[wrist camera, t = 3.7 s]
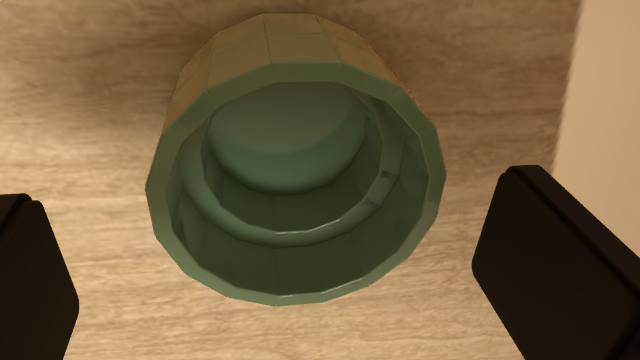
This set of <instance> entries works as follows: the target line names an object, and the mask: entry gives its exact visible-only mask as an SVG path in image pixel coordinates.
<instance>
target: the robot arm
mask: <svg viewBox="0 0 640 360" xmlns="http://www.w3.org/2000/svg"><path fill="white" fill-rule="evenodd" d="M472 272H473V275H474V277H475V279H476V280H477V282H478V284H479V285H480V287H481V288H482V290H483V292H484V293H485V295H486V297H487V298H488V300H489V302H490V303H491V305H492V306H493V308H494V310H495V311H496V313H497V315H498V316H499V318H500V320H501V321H502V323H503V324H504V326H505V328H506V329H507V331H508V333H509V334H510V336H511V338H512V339H513V341H514V342H515V344H516V346H517V347H518V349H519V351H520V352H521V354H522V355H523V357H524V359H525V360H640V258H639V257H638V256H637V255H636V254H635V253H634V252H633V251H631V250H630V249H629V248H628V247H627V246H626V245H625V244H624V243H623V242H622V241H621V240H620V239H619V238H617V237H616V236H615V235H614V234H613V233H612V232H611V231H610V230H609V229H608V228H607V227H605V225H603V224H602V223H601V222H600V221H599V220H598V219H597V218H596V217H595V216H594V215H593V214H592V213H591V212H589V211H588V210H587V209H586V208H585V207H584V206H583V205H582V204H581V203H580V202H579V201H578V200H577V199H575V198H574V197H573V196H572V195H571V194H570V193H569V192H568V191H567V190H565V188H564V187H562V186H561V185H560V184H559V183H558V182H557V181H556V180H555V179H554V178H553V177H552V176H551V175H550V174H549V173H547V172H546V171H545V170H544V169H543V168H542V167H541V166H539V165H520V166H511V167H509V168H508V169H507V170H506V172H505V173H503V174H501V175H500V177H499V179H498V182H497V185H496V188H495V191H494V194H493V198H492V201H491V204H490V207H489V210H488V213H487V216H486V219H485V222H484V225H483V228H482V231H481V235H480V238H479V241H478V244H477V247H476V250H475V253H474V256H473V259H472ZM78 314H79V299H78V295H77V293H76V290H75V288H74V285H73V282H72V280H71V277H70V275H69V272H68V269H67V267H66V264H65V262H64V259H63V256H62V254H61V251H60V249H59V246H58V243H57V241H56V238H55V236H54V233H53V230H52V228H51V225H50V223H49V220H48V217H47V215H46V212H45V209H44V207H43V205H42V203H41V202H40V201H37V200H34V201H32V199H31V197H30V196H29V195H28V194H25V193H21V194H3V195H0V360H63V358H64V355H65V352H66V349H67V346H68V343H69V340H70V337H71V335H72V332H73V329H74V326H75V323H76V320H77V317H78Z"/></svg>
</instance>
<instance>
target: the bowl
mask: <svg viewBox="0 0 640 360" xmlns="http://www.w3.org/2000/svg"><path fill="white" fill-rule="evenodd" d="M445 180H446V167H445V163H444V159H443V154H442V150H441V146H440V141H439V137H438V133H437V128H436V127H435V124H434V123H433V122H432V121H431V119H430V118H429V117H428V116H427V114H426V113H425V112H424V111H423V109H422V108H421V107H420V106H419V105H418V103H417V102H416V101H415V100H414V98H413V97H412V96H411V95H410V93H409V92H408V91H407V90H406V88H405V87H404V86H403V85H402V83H401V82H400V81H399V80H398V79H397V77H396V76H395V75H394V74H393V72H392V71H391V70H390V69H389V67H388V66H387V65H386V64H385V63H384V62H383V60H382V59H381V58H380V57H379V56H378V55H377V54H376V52H375V51H374V50H373V49H372V48H371V47H370V45H369V44H368V43H367V42H366V41H365V40H364V39H363V37H362V36H361V35H359V34H358V33H356V32H354V31H352V30H350V29H348V28H345V27H343V26H341V25H339V24H337V23H334V22H332V21H330V20H328V19H325V18H323V17H321V16H319V15H317V14H315V15H314V14H294V13H264V14H259V15H257V16H255V17H252V18H250V19H248V20H245V21H243V22H241V23H238V24H236V25H233V26H231V27H229V28H226V29H224V30H222V31H219V32H217V33H216V34H215V35H214V36H212V37H211V38H210V39H209V40H208V41H207V43H206V44H205V45H204V46H203V47H202V48H201V49H200V50H199V51H198V52H197V53H196V55H195V56H194V57H193V58H192V59H191V60H190V61H189V62H188V63H187V64H186V65H185V66H184V68H183V70H182V72H181V73H180V75H179V78H178V82H177V85H176V88H175V91H174V94H173V97H172V100H171V103H170V106H169V110H168V113H167V116H166V119H165V122H164V125H163V128H162V131H161V134H160V138H159V141H158V144H157V148H156V151H155V154H154V157H153V161H152V164H151V167H150V171H149V174H148V177H147V180H146V184H145V193H146V197H147V202H148V207H149V211H150V216H151V221H152V225H153V230H154V234H155V236H156V239H157V240H158V241H159V242H160V244H161V245H162V246H163V247H164V248H165V250H166V251H167V252H168V253H169V255H170V256H171V257H172V258H173V260H174V261H175V262H176V263H177V265H178V266H179V267H180V268H181V269H182V271H183V272H184V273H186V274H187V275H188V276H190V277H191V278H193V279H195V280H197V281H199V282H201V283H202V284H204V285H206V286H208V287H210V288H211V289H213V290H215V291H217V292H219V293H220V294H222V295H224V296H226V297H229V298H233V299H239V300H244V301H249V302H254V303H260V304H265V305H270V306H287V305H299V304H310V303H321V302H324V301H325V302H327V301H329V300H332V299H335V298H338V297H340V296H343V295H346V294H348V293H351V292H354V291H357V290H359V289H362V288H365V287H368V286H369V285H371V284H373V283H374V282H376V281H377V280H378V279H380V278H381V277H383V276H384V275H385V274H387V273H388V272H389V271H391V270H392V269H393V268H395V267H396V266H398V265H399V264H400V263H402V262H403V261H404V260H406V259H407V258H408V257H409V256H410V255H411V254H412V252H413V251H414V249H415V248H416V247H417V245H418V244H419V242H420V241H421V240H422V238H423V237H424V236H425V234H426V233H427V231H428V230H429V229H430V227H431V226H432V224H433V223H434V222H435V219H436V218H437V214H438V209H439V205H440V201H441V197H442V193H443V188H444V184H445Z"/></svg>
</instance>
